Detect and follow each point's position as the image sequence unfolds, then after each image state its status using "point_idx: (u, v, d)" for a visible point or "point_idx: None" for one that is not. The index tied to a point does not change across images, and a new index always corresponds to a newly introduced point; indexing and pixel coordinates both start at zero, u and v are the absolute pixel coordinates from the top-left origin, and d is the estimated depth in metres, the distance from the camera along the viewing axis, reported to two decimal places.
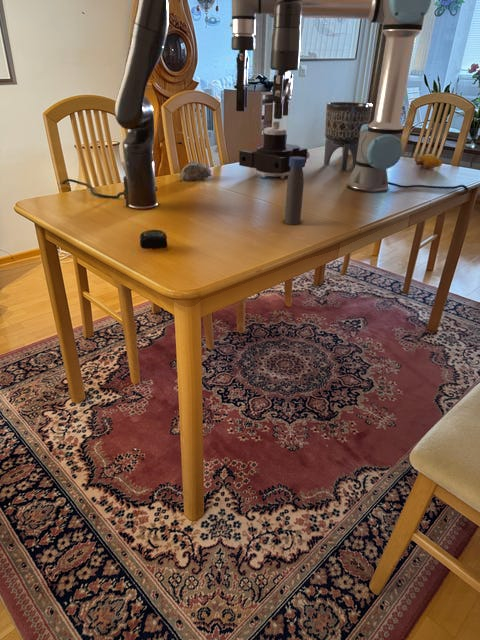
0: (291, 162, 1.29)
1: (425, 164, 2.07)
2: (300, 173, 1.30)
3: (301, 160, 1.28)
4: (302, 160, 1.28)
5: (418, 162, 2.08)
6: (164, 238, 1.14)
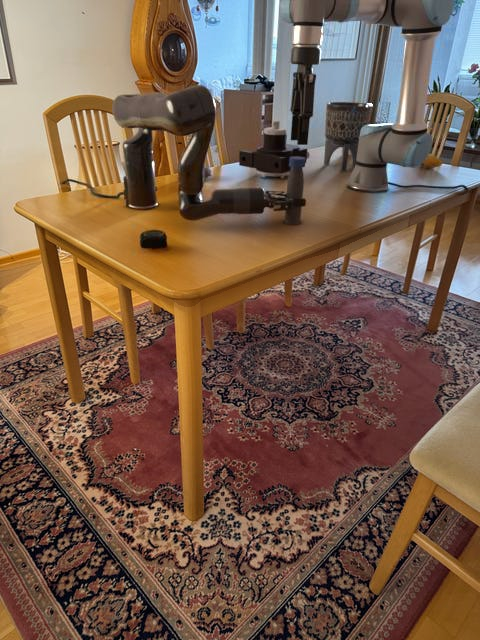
0: (291, 162, 1.29)
1: (425, 164, 2.07)
2: (300, 173, 1.30)
3: (301, 160, 1.28)
4: (302, 160, 1.28)
5: None
6: (164, 238, 1.14)
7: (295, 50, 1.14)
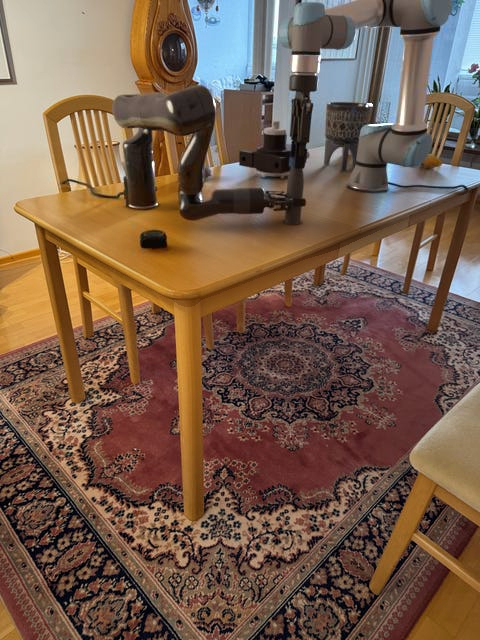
0: (291, 162, 1.29)
1: (425, 164, 2.07)
2: (300, 173, 1.30)
3: None
4: None
5: None
6: (164, 238, 1.14)
7: (293, 78, 1.17)
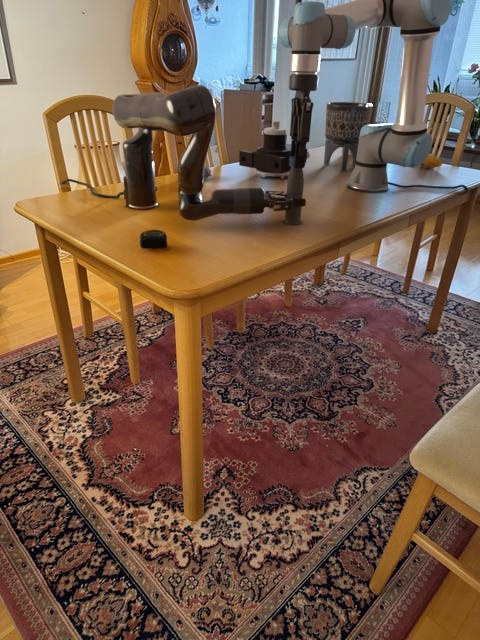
0: None
1: (425, 164, 2.07)
2: (300, 173, 1.30)
3: None
4: None
5: None
6: (164, 238, 1.14)
7: (293, 77, 1.17)
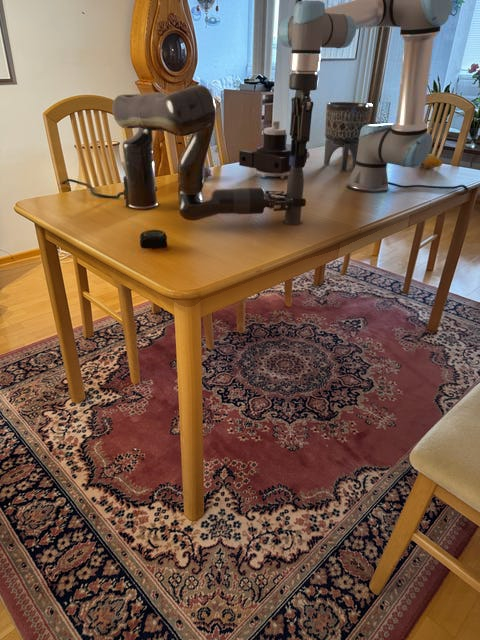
0: None
1: (425, 164, 2.07)
2: (300, 173, 1.30)
3: (290, 157, 1.29)
4: (290, 158, 1.29)
5: None
6: (164, 238, 1.14)
7: (293, 77, 1.17)
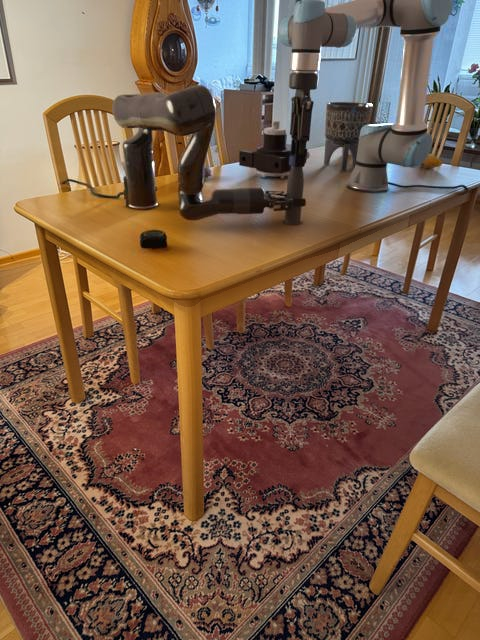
0: (294, 161, 1.28)
1: (425, 164, 2.07)
2: (300, 173, 1.30)
3: None
4: None
5: None
6: (164, 238, 1.14)
7: (293, 76, 1.17)
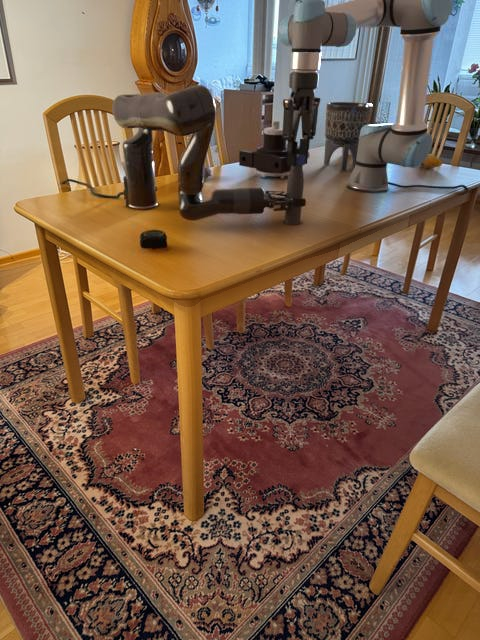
0: None
1: (425, 164, 2.07)
2: (300, 173, 1.30)
3: None
4: None
5: None
6: (164, 238, 1.14)
7: None
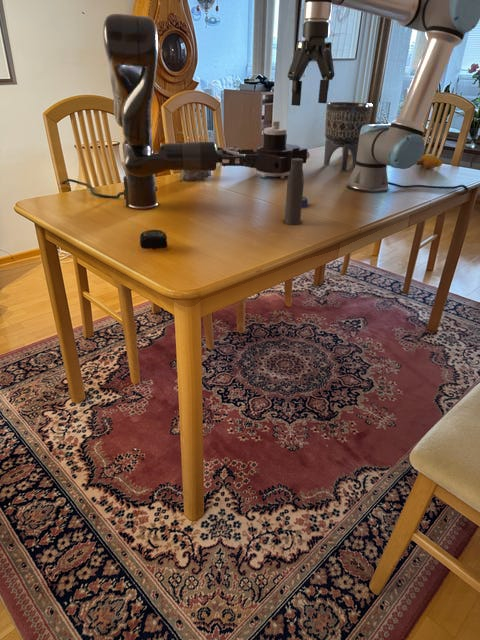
0: None
1: (425, 164, 2.07)
2: (300, 173, 1.30)
3: None
4: None
5: (418, 162, 2.08)
6: (164, 238, 1.14)
7: (329, 25, 1.28)
